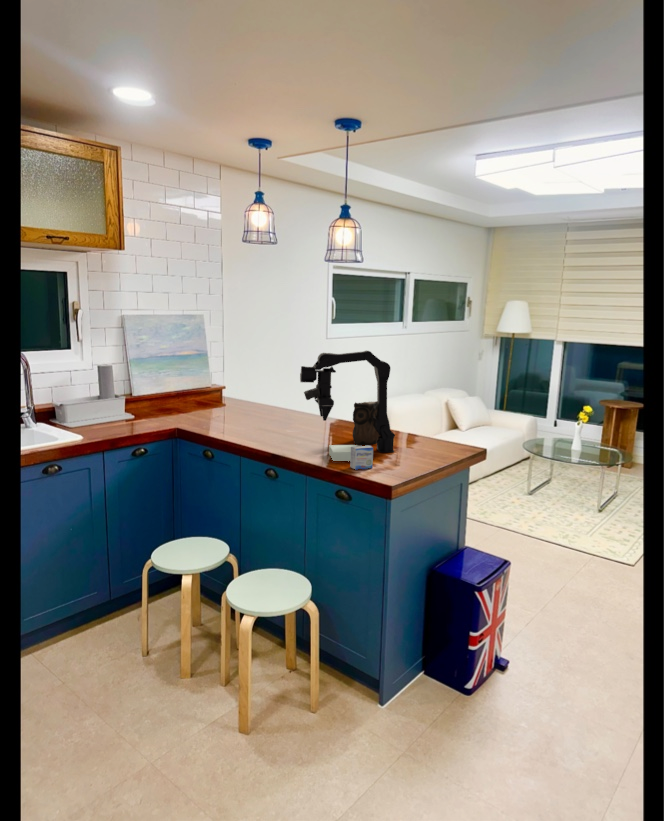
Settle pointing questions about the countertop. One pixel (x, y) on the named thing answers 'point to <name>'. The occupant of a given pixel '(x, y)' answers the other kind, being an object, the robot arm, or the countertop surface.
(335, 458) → the mint block
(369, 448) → the medicine box
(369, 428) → the owl
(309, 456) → the countertop surface
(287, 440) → the countertop surface
